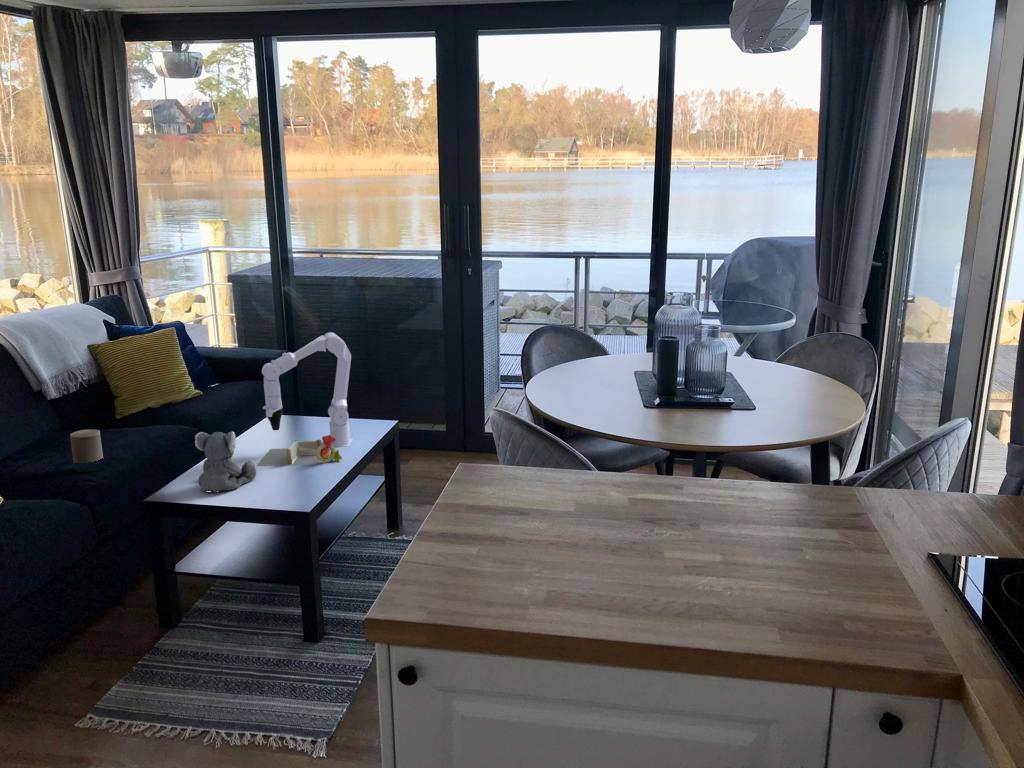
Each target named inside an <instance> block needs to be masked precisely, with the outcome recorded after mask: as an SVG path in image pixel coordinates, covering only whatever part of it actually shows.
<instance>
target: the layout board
mask: <svg viewBox="0 0 1024 768" xmlns="http://www.w3.org/2000/svg"><path fill="white" fill-rule="evenodd" d="M289 448H290V447H289ZM289 448H270V449H269V450H268V451H267V453H265V454H264V456H263V457H262V458H261V459H260V460H259V462H258V463H257V464H256V466H255V467H272V466H276V467H277V466H279V467H280V466H283V467H284V466H285V467H286V466H316V465H318V464H319V462H320V460H319V459H318V458H317V456H316V454H299V447H298V455H297V456H296V458H295V459H294V460H293V462H292V464H288V462H287V451H286V450H287V449H289ZM323 449H324V448H323Z"/></svg>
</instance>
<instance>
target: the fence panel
mask: <svg viewBox="0 0 1024 768" xmlns="http://www.w3.org/2000/svg"><path fill="white" fill-rule="evenodd" d="M298 448H299V444H298V440H297V439H296V440H294V442H293V443H292V444H291V445H290V446H289V449H287V450H286V451H287V462H288V464H292V462H293V460H294V459H295V458H296V456H297V455H298Z"/></svg>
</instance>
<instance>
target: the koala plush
mask: <svg viewBox="0 0 1024 768" xmlns="http://www.w3.org/2000/svg"><path fill="white" fill-rule="evenodd" d="M194 439H195V441H194V443H195V447H196V449H197V450H200V451H201V452H204V454H205V457H206V459H205V460H204V461H203V465H202V470H203V473H201V474H200V475H199V477H198V481H197V484H198V485H199V486H200V487H201V488H202V489H203V491H204V492H206V491H211V492H210V493H212V492H215V493H216V492H217V491H219V492H222V490H223V491H225V490H228V491H229V490H230V491H231V489H232V490H236V489H235V488H237V489H239V488H240V487H241V486H242V484H243V485H245V483H246V484H248V483H251V481H253V480H254V479H255V478H256V476H257V469H256V466H255V462H254V461H252V460H248V461H245V462H244V463H243V464H242V465H241V467H240V466H239V465H238V464H237V463H236V462H235V461H233V460H232V458H233V455H234V452H235V449H237V447H236V441H237V439H236V433H235V432H234V431H230V432H227V433H225V432H221V431H215V432H213V433H210V434H208V433H207V432H203V431H200V432H198V433H196V434H195V435H194ZM217 493H218V492H217Z"/></svg>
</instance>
